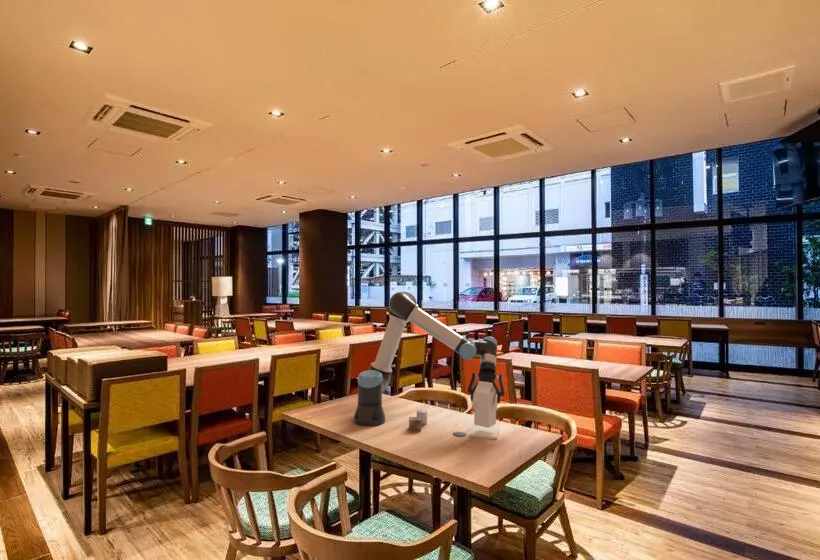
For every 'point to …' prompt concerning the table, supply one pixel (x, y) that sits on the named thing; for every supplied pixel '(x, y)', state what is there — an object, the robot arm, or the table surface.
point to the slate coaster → (459, 434)
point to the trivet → (484, 432)
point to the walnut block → (415, 423)
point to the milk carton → (485, 405)
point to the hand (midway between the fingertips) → (484, 407)
